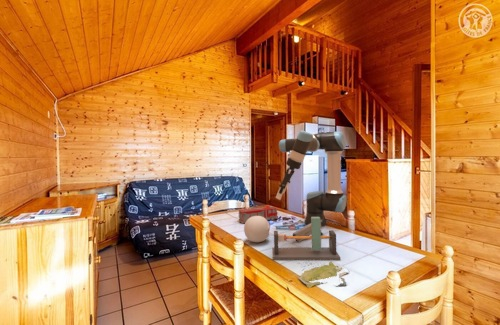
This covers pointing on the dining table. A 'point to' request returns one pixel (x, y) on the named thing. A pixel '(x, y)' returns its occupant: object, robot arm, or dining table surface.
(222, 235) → the dining table surface
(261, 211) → the toy
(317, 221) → the sleeve
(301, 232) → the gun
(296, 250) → the grey slider rail stand
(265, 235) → the toy
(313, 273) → the landscape model
